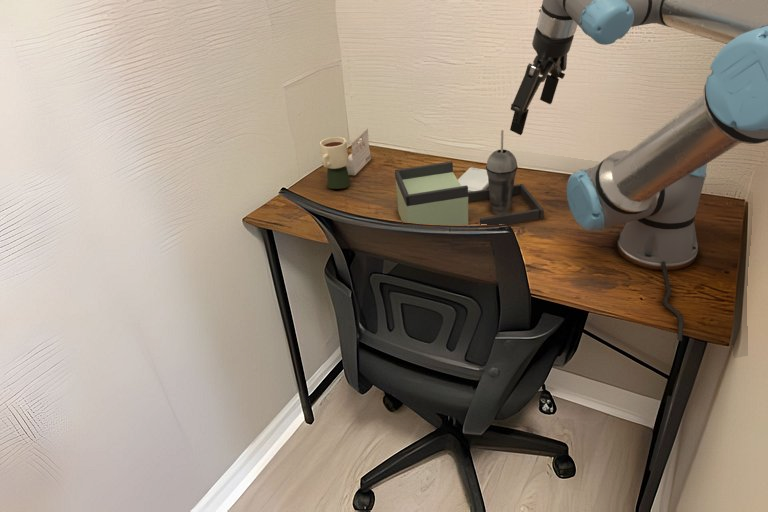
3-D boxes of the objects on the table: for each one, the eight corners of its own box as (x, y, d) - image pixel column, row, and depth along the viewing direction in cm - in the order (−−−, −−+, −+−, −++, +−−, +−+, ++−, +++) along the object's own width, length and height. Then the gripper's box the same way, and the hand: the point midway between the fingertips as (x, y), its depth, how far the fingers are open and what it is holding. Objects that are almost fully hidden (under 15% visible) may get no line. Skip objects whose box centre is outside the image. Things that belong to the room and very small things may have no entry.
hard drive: (469, 166, 161) (450, 186, 152) (498, 171, 157) (479, 191, 149) (469, 172, 162) (450, 192, 153) (498, 177, 158) (479, 197, 150)
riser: (543, 219, 138) (546, 174, 132) (409, 240, 136) (405, 196, 129) (522, 192, 150) (524, 150, 144) (398, 211, 147) (394, 169, 141)
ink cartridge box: (347, 175, 167) (343, 143, 162) (364, 159, 175) (360, 127, 170) (355, 176, 166) (351, 143, 161) (371, 159, 174) (368, 128, 169)
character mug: (338, 176, 167) (332, 132, 160) (360, 179, 164) (354, 135, 157) (317, 193, 159) (310, 148, 152) (340, 197, 156) (333, 151, 149)
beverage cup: (485, 218, 141) (486, 139, 130) (484, 203, 147) (485, 126, 136) (516, 217, 140) (520, 138, 129) (514, 202, 146) (518, 125, 135)
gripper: (567, -3, 123) (543, 83, 140) (506, 51, 111) (487, 137, 128) (600, 10, 121) (571, 95, 138) (541, 66, 108) (518, 153, 125)
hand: (531, 116), depth 133 cm, fingers open, 13 cm apart
